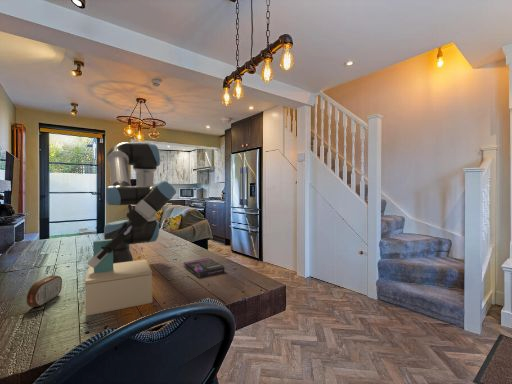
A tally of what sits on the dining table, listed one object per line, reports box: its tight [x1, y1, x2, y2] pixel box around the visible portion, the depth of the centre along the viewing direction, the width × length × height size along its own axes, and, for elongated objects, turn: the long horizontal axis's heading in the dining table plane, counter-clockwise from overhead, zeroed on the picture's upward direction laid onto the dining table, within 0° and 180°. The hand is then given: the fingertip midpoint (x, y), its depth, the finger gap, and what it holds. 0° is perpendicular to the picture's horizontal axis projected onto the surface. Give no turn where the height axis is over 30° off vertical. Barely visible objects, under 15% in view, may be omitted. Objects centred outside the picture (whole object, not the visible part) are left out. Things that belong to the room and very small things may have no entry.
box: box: [183, 257, 225, 279], centre depth 132 cm, size 14×4×20 cm
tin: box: [26, 274, 63, 308], centre depth 96 cm, size 15×3×8 cm, turn 5°
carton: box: [84, 273, 153, 317], centre depth 98 cm, size 20×18×10 cm
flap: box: [84, 239, 153, 285], centre depth 98 cm, size 20×18×12 cm
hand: (90, 264), depth 94 cm, fingers open, 2 cm apart
